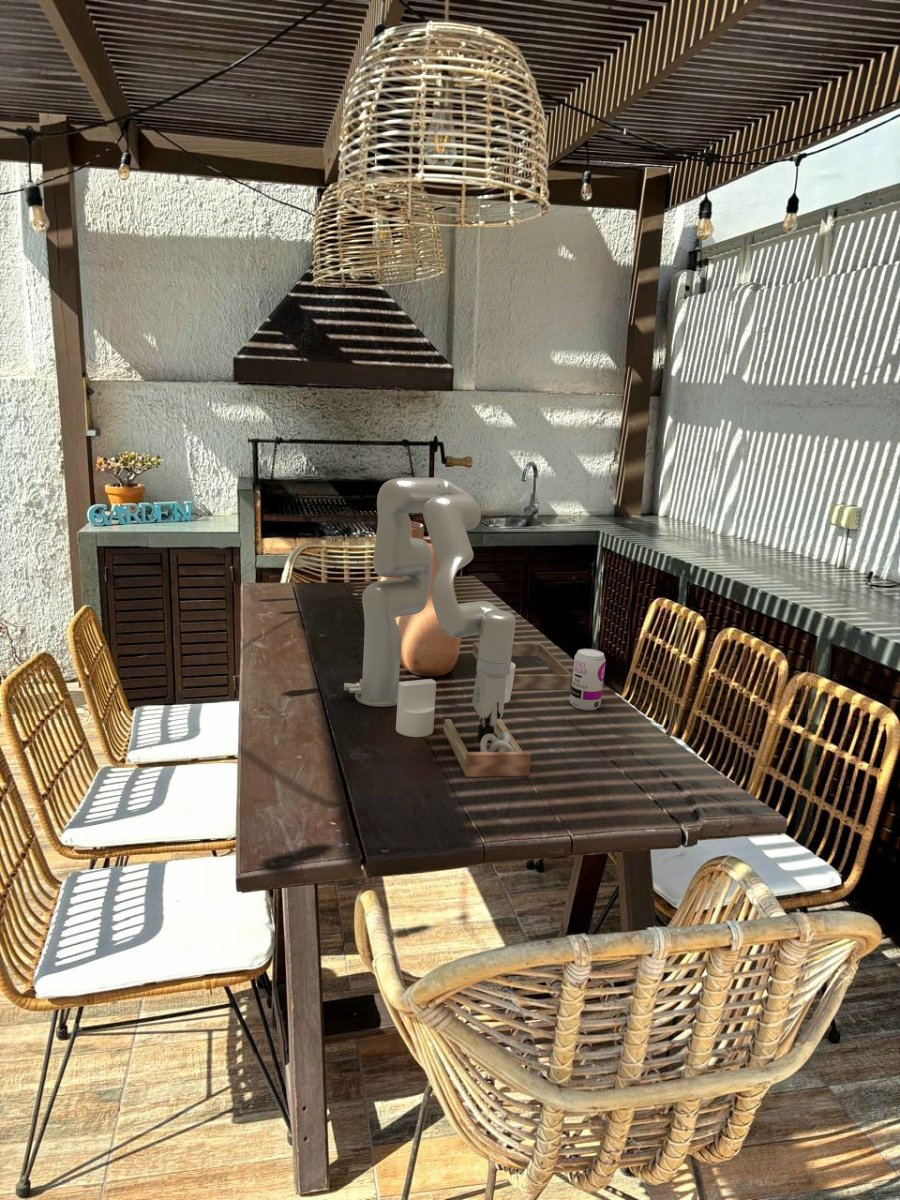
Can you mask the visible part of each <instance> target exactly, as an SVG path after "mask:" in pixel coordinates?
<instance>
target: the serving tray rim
mask: <svg viewBox="0 0 900 1200" xmlns="http://www.w3.org/2000/svg"><path fill="white" fill-rule="evenodd" d="M478 648H479V641H478V642H473V645H472V656H473V657H474V659H475V660H476V661H477V657H478ZM512 657H538V658H539V659H540V661H542V663H543V664H544V665H545V666H546V667H547V668H548V669H549V670H550V671H551V672H552V673H553V674H514V681H513V687H512V690H571V685H572V676H573V673H572V672H570V670H569V669H567V668H566V667H565V665H564V664H562V662H560V660H559V659H558V658H557V657H555V656H554V655H553V654H552V652H550V651H549V650H548V648H547V647H545V646H544V645H543V644H542V643H540V642H538V643H537V642H534V643H533V642H531V643H529V642H528V643H527V642H513V648H512Z"/></svg>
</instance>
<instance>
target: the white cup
mask: <svg viewBox="0 0 900 1200" xmlns="http://www.w3.org/2000/svg"><path fill="white" fill-rule="evenodd" d="M515 674H516V664H515V663H514V662H513V661H511V666H510V674H509V675H508V676H506V686H505V701H504V704H506V703H509V702H510V701H511V696H512V692H513V689H512V687H513V681H514V675H515Z"/></svg>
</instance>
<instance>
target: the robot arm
mask: <svg viewBox="0 0 900 1200" xmlns="http://www.w3.org/2000/svg"><path fill="white" fill-rule="evenodd" d="M376 508H377V528H376V536H375V543H374V548H373V549H374V551H373V558H372V559H373V560H372V562H373V563H372V565H373V569H374V572H375V573H376V575H378V576H380V577H383V578H399V577H400V578H399V579H387V580H380V581H375V582H373V583H370V584H369V585H367V587H365V589H364V591H363V592H362V597H361V598H362V600H361V601H362V607H363V608H362V609H363V616H364V634H363V635H364V638H363V660H362V676H361V678H360V679H359V681H358V682H355V683H351V682H350V683H349V682H344V683H343V691H348V692H349V694H352V693H353V694H355V695H354V697H355V700H356V701H357V702H359V703H360V704H362V705H365V706H366V705H367V706H369V707H375V708H376V707H377V708H387V707H394V706H397V704H398V688H399V682H400V666H401V654H402V653H401V652H402V651H401V650H402V649H401V648H402V632H401V629H400V627H399V625H398V623H397V622H396V618H399V617H403V616H412V615H417V614H420V613H421V612H423V611H424V610H425V608H426V607H427V603H428V599H429V594H430V587H431V586H430V585H431V580H432V574H433V568H434V555H435V558H436V562H437V565H438V567H437V571H436V573H435V575H434V578H433V583H432V589H431V600H432V606H433V609H434V613H435V616H436V618H437V621H438V624H439V627H440V629H441V630H442V632H443V633H444V634H445V635H446V636H447V637H449V638H453V639H460V638H465V637H473V636H479V639H478V643H479V648H478V657H477V660H476V667H475V671H476V676H475V681H474V688H473V695H472V701H471V702H472V706H473V708H474V710H475V712H476V713H477V714H478V716H479V719H478V721H479V724H478V731H477V740H478V743H479V744H480V743H481V739H482V738H483V736H484V735H486V734H493V735H494V734H495V732H494V727H495V726H496V724H497V719H502V717H503V716H504V715H503V714H504V710H505V709H504V708H505V703H504V701H505V686H506V676H508V675H509V674H510V666H511V662H512V657H513V656H512V648H513V643H514V638H515V631H516V630H515V629H516V616H515V615H514V614H513V613H512V612H510V611H505V610H503V609H500V608H499V607H497V606H496V605H495V604H493V603H492V602H490V601H486V600H479V601H478V600H477V601H471V602H470V601H469V602H464V603H463V602H462V603H458V601H457V598H456V596H455V591H454V581H455V577H456V575H457V573H458V571H460V569H462V568H464V567H466V566H467V565H468V564H469V563H471V561H472V560H473V559H474V555H475V554H474V551H473V548H472V545H471V543H470V539H469V536H468V533H467V531H470V530H474V529H476V528H477V527H478V526H479V524H480V522H481V519H482V515H481V514H482V513H481V507H480V506H479V503H478V502H477V499H475V498H474V497H473V496H472V495H471V494H469V493H468V491H465V490H463V489H462V488H461V487H458V486H457V485H456V484H454V483H453V482H450V481H449V480H447V479H445V478H441V477H398V478H393V479H389V480H387V481H386V482H384V483H383V484H382V485H381V487H380V488H379V491H378V493H377V499H376ZM409 514H422V518H423V521H424V524H425V526H426V529H427V534H428V537H429V540H430V543H431V546H432V548H431V546H430V545H429V543H428V542H427V541H426V540H424V539H422V538H417V537H411V535H412V529H413V528H412V521H411V518H410V516H409ZM432 549H433V551H434V555H433V551H432ZM401 577H403V578H401ZM490 743H491V744H492V742H491V741H490V740H488V742H487V744H490Z"/></svg>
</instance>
